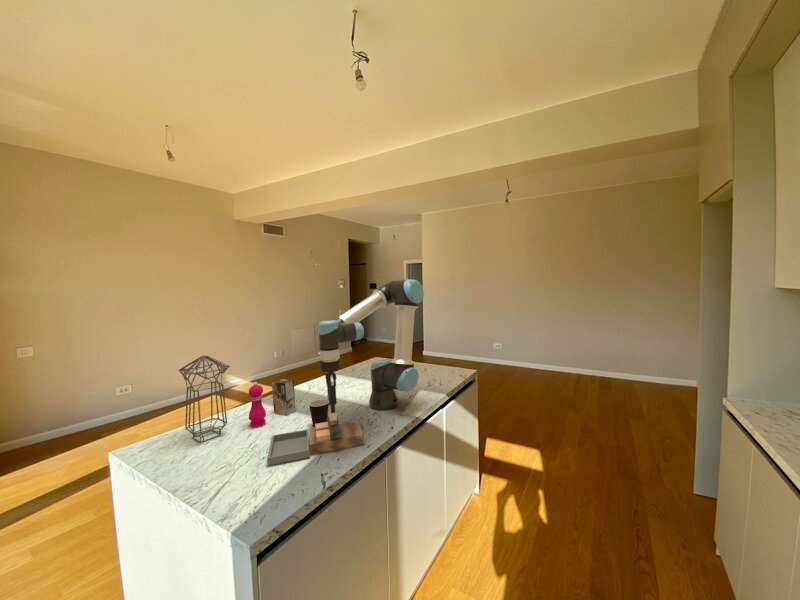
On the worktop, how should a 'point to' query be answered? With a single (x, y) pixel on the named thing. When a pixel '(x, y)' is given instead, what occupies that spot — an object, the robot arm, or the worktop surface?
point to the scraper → (334, 428)
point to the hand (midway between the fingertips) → (332, 418)
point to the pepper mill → (256, 406)
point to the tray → (288, 447)
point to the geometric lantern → (203, 358)
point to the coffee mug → (319, 411)
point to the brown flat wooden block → (338, 439)
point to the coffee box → (283, 396)
